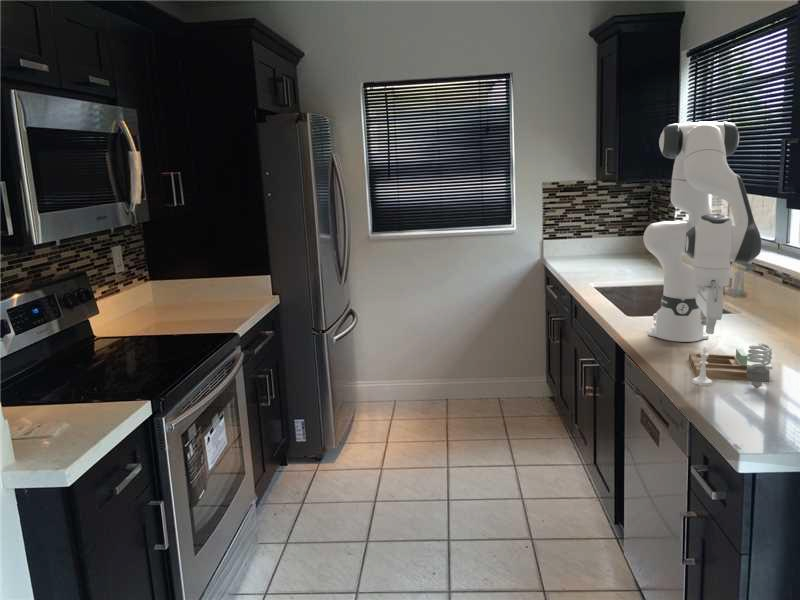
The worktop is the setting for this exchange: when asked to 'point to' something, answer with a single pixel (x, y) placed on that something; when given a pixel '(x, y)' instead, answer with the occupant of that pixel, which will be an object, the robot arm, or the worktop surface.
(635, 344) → the worktop surface
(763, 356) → the light bulb
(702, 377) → the chess piece
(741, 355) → the cover
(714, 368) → the board
